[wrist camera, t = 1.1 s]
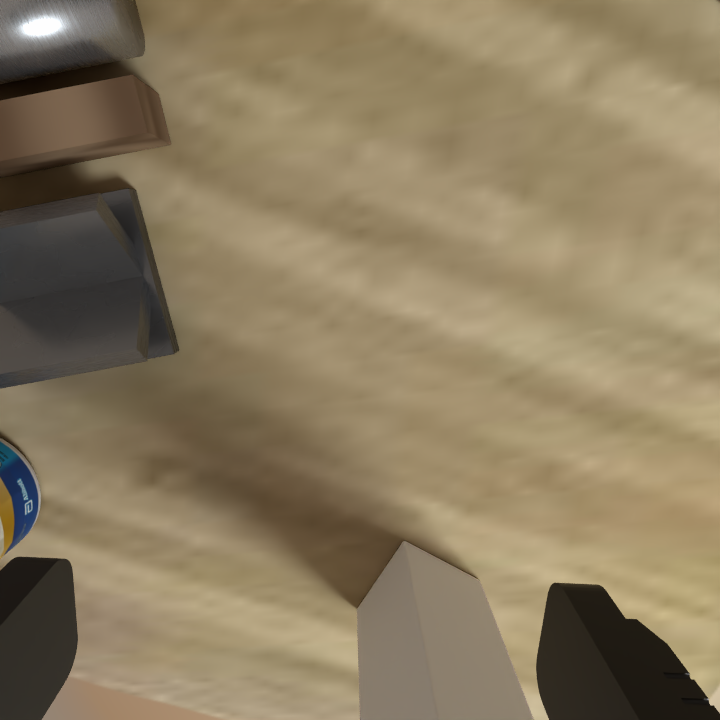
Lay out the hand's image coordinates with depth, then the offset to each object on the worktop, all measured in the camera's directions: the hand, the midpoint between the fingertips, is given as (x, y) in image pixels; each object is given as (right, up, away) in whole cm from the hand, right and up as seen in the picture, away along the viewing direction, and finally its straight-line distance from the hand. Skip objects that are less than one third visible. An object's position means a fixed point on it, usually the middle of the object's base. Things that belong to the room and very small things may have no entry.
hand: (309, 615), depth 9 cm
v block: (-15, +8, +21) cm, 27 cm away
